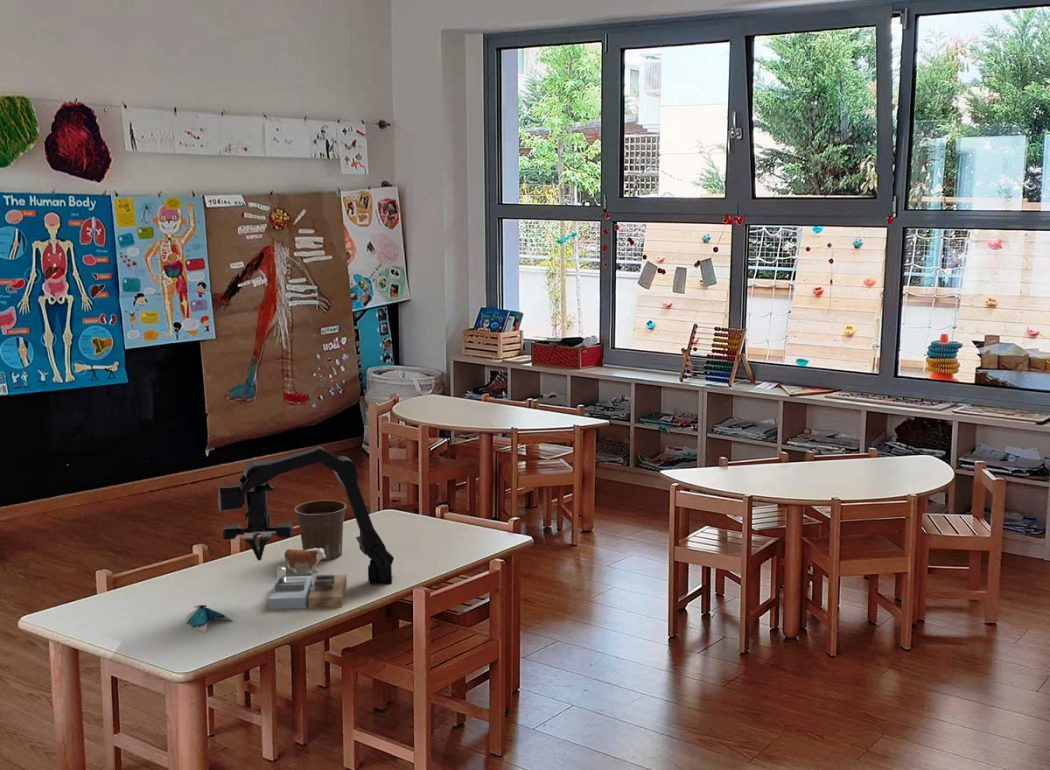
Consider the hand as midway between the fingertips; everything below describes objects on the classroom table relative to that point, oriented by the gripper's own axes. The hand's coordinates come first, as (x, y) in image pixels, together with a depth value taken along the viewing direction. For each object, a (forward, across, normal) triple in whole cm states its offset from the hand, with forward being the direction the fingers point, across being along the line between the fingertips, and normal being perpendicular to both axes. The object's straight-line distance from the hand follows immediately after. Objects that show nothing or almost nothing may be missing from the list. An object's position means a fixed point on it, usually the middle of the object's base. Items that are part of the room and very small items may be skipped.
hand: (259, 560), depth 307 cm
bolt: (+8, -8, 0) cm, 12 cm away
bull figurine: (+12, -10, -21) cm, 26 cm away
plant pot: (+12, -13, -37) cm, 41 cm away
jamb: (+11, -19, 0) cm, 22 cm away
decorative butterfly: (+12, +12, +18) cm, 24 cm away
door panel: (+11, -8, 0) cm, 14 cm away
